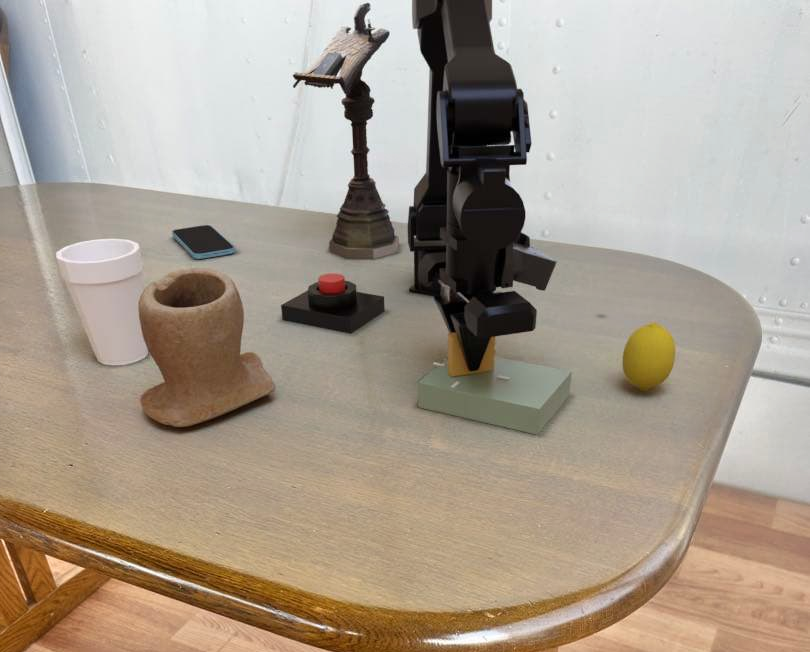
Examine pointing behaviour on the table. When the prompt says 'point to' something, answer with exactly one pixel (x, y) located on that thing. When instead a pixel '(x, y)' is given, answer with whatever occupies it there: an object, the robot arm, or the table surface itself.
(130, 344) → the foam cup
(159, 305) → the stone cup
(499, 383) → the plate
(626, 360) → the lemon
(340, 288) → the button
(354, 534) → the table surface
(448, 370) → the orange flat slab
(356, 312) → the release button base
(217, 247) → the smartphone
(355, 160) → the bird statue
